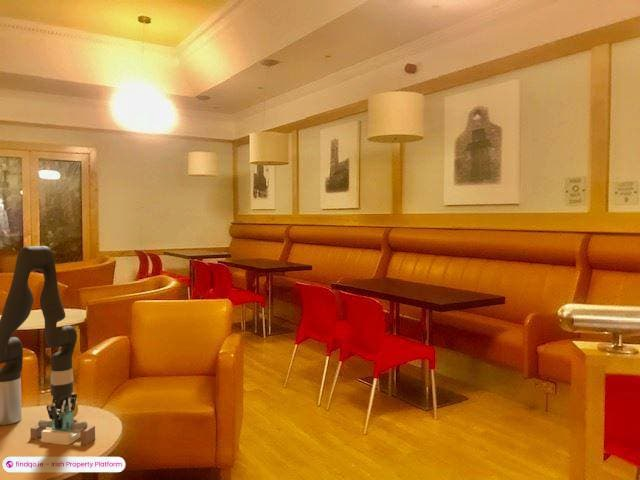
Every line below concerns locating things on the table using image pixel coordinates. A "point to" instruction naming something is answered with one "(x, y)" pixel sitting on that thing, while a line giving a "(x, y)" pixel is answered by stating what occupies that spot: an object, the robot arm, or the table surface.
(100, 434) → the table surface
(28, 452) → the table surface
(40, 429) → the shaft rig
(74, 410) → the lemon
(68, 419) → the green rectangular block
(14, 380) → the robot arm
